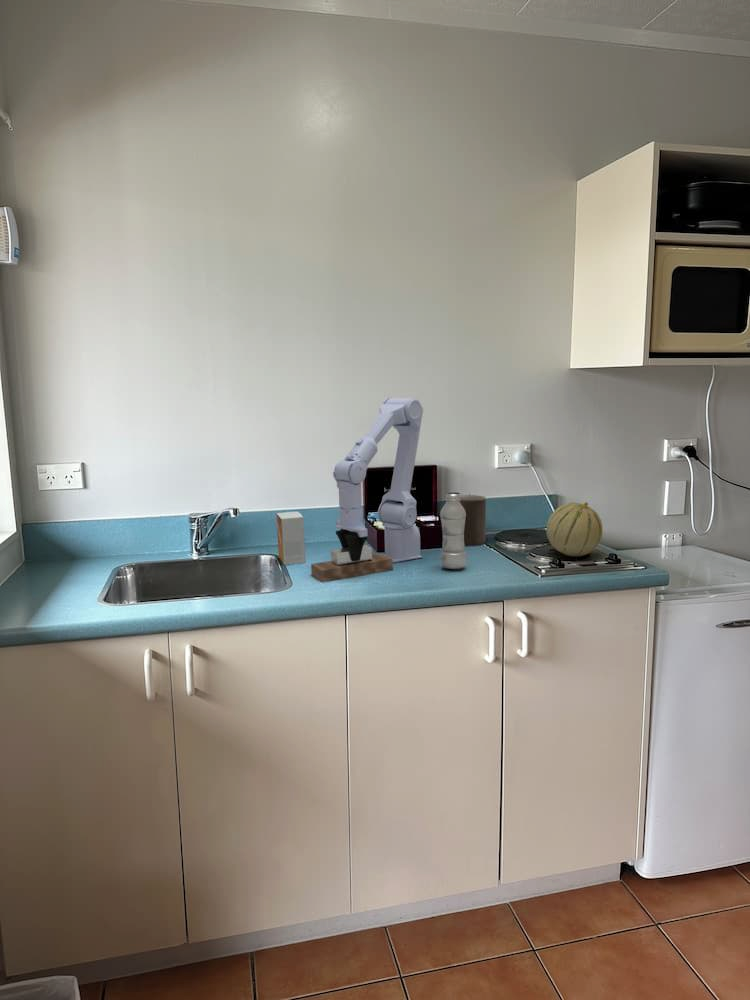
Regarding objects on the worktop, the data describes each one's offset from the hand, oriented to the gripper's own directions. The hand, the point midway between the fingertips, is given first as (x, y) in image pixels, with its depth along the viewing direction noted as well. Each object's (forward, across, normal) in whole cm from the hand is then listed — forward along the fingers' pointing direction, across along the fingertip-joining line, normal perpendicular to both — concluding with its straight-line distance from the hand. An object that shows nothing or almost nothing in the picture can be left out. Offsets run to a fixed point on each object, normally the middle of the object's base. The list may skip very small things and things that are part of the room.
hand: (352, 558), depth 182 cm
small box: (+4, -20, -9) cm, 22 cm away
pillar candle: (+4, -10, +44) cm, 45 cm away
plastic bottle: (+4, +11, +24) cm, 27 cm away
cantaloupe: (+4, +18, +59) cm, 62 cm away
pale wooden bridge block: (+3, 0, 0) cm, 3 cm away
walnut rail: (+4, 0, 0) cm, 4 cm away
